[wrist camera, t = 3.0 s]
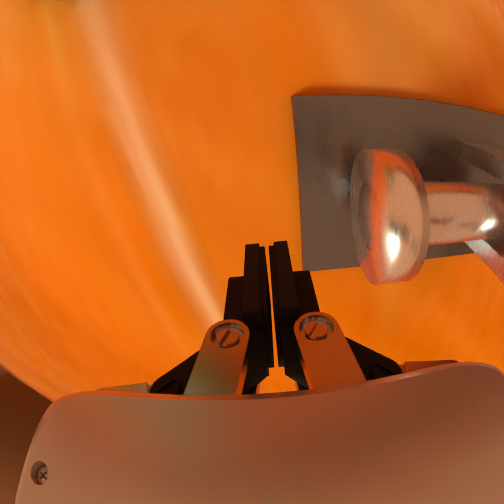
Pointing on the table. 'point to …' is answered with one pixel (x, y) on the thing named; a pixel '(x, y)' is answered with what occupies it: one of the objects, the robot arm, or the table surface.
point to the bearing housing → (387, 137)
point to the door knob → (413, 214)
